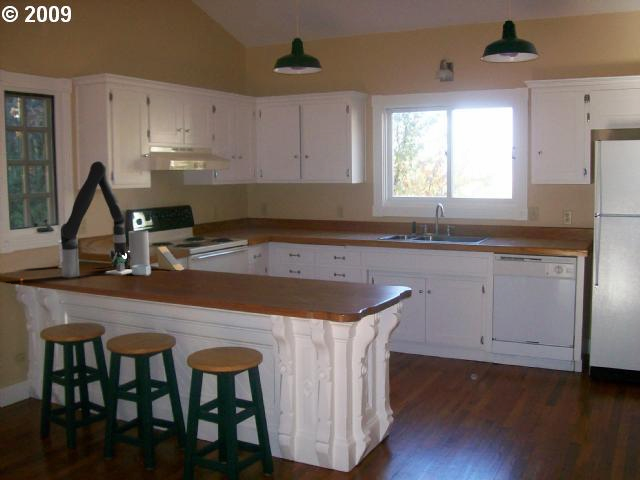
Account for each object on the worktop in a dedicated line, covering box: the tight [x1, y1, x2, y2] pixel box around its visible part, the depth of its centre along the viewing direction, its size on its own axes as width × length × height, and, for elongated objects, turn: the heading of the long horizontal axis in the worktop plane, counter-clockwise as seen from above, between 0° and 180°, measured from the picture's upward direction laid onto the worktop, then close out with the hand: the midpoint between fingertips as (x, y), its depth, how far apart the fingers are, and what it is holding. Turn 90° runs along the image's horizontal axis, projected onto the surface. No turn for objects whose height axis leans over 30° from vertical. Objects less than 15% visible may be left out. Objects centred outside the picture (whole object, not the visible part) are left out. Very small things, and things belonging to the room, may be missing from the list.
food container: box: [108, 252, 125, 268], centre depth 462 cm, size 12×6×10 cm, turn 105°
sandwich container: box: [157, 246, 185, 272], centre depth 449 cm, size 9×15×15 cm, turn 65°
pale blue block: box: [131, 264, 152, 277], centre depth 429 cm, size 11×11×6 cm
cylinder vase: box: [128, 230, 150, 270], centre depth 452 cm, size 12×12×25 cm
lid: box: [105, 263, 132, 275], centre depth 435 cm, size 13×13×6 cm
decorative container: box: [57, 239, 63, 269], centre depth 465 cm, size 12×12×18 cm
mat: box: [102, 272, 132, 276], centre depth 436 cm, size 16×16×1 cm
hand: (121, 266), depth 436 cm, fingers open, 8 cm apart
